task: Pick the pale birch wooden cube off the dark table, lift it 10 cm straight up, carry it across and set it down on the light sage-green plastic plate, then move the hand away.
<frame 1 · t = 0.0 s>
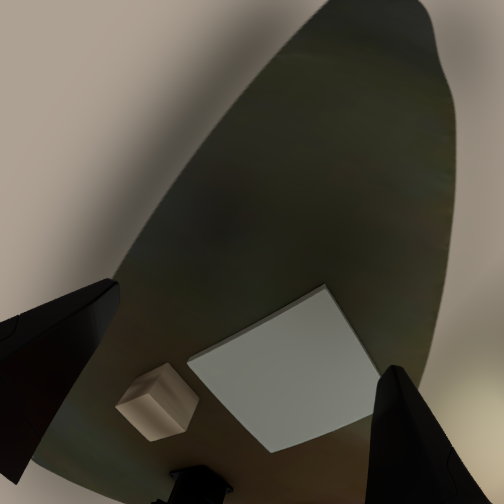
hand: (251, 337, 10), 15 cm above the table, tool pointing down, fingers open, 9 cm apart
birch cube: (167, 388, 30), on the table
sage plate: (295, 381, 28), on the table
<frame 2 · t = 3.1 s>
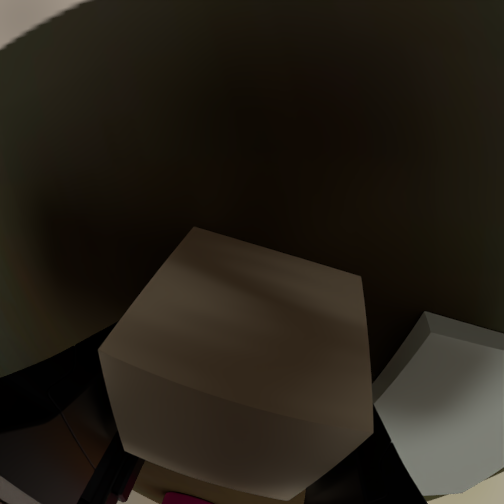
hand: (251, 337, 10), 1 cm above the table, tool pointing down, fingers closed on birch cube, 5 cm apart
birch cube: (258, 315, 10), on the table, touching gripper
pepper mill: (195, 501, 26), on the table
sage plate: (455, 436, 12), on the table
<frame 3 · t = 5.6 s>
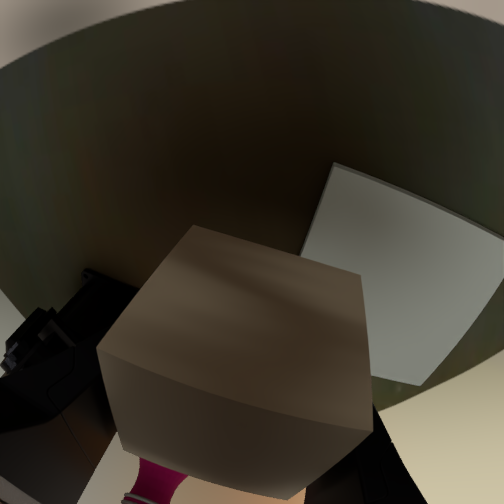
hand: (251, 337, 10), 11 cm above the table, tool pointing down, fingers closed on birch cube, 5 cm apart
birch cube: (257, 314, 10), point 10 cm above the table, touching gripper
pepper mill: (185, 413, 34), on the table
sage plate: (391, 295, 21), on the table
when the fingers open (3 cm above the table, at t = 8.4 s): birch cube stays where it is, resting on sage plate.
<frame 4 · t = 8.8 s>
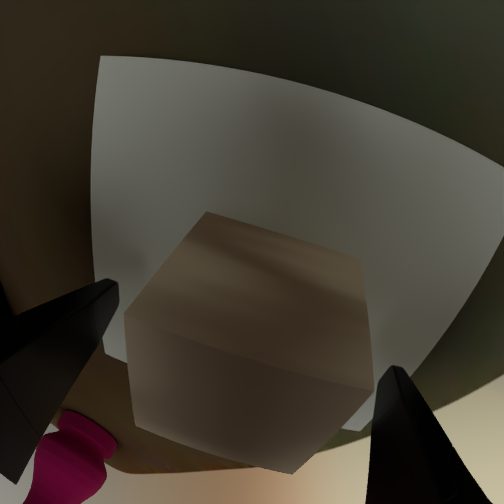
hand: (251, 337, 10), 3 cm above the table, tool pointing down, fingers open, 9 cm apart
birch cube: (263, 296, 11), point 1 cm above the table, touching sage plate
pepper mill: (91, 427, 26), on the table
sage plate: (269, 281, 12), on the table
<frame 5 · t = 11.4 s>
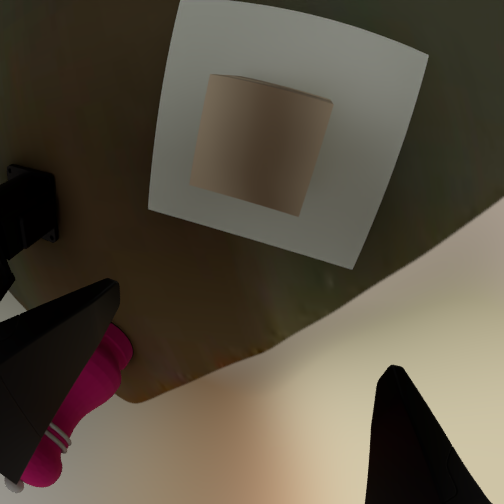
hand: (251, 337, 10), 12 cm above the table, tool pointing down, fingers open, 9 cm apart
birch cube: (273, 128, 17), point 1 cm above the table, touching sage plate
pepper mill: (109, 338, 31), on the table
sage plate: (276, 127, 18), on the table
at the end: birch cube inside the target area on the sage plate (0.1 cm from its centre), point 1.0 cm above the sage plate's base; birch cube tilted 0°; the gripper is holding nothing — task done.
